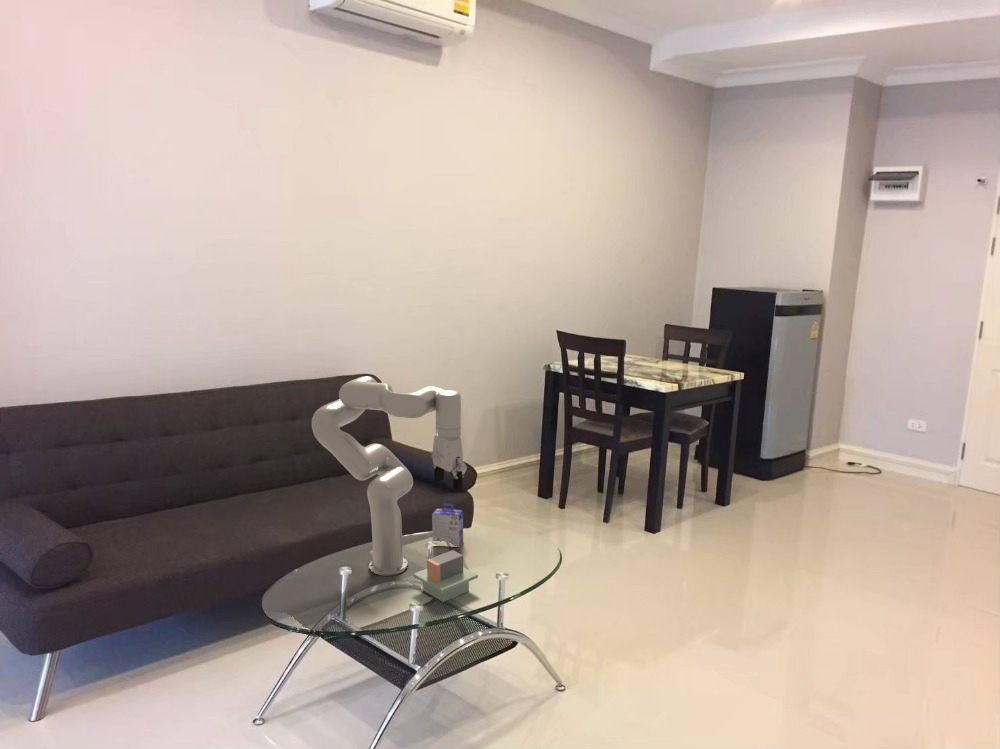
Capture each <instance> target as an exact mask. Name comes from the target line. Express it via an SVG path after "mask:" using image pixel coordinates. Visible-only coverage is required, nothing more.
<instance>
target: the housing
mask: <svg viewBox="0 0 1000 749" xmlns="http://www.w3.org/2000/svg"><path fill="white" fill-rule="evenodd" d="M463 567H464V555H463V554H461V553H459V552H457V551H455V550H453V549H452V550H449V551H447V552H444V553H442V554H439V555H437V556H434V557H432V558H431V557H430V558H428V559H426V568H427V577H429V578H431V579H432V580H434V581H436V582H440V581H442V580H445V579H447V578H450V577H452V576H454V575H457V574H459V573H462V572H463Z"/></svg>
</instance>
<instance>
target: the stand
mask: <svg viewBox="0 0 1000 749" xmlns="http://www.w3.org/2000/svg"><path fill="white" fill-rule="evenodd" d="M413 578H415V579H417V580H418V581H420V582H421V583H422V591H424V592H425V593H427V594H429V595H430V596H432V597H433V598H436V599H437V600H439V601H440V602H442V603H445V602H447V601H450V600H452V599H454V598H457V597H458V596H461V595H464V594H466V593H467V592H469V591H470V581H474V580H476V579H478V578H479V574H478V573H475V572H474V571H472V570H470V569H469V568H466V567H464V566H463V572H462V573H459V574H457V575H454V576H452V577H450V578H447V579H445V580H442V581H440V582H436V581H434V580H432V579H431V578H429V577H427V567H426V568H425V569H422V570H420V571H417V572H414V573H413Z"/></svg>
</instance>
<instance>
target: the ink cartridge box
mask: <svg viewBox="0 0 1000 749" xmlns="http://www.w3.org/2000/svg"><path fill="white" fill-rule="evenodd" d="M447 506H449V507H450V508H449V507H447ZM463 512H464V511H463V510H462V509H454V503H445V502H443V506H442V508H436V509H435V510H434V511H433V513H431V517H432V518H431V520H432V522H431V525H432V526H431V527H432V542H433V541H440V542H441V541H445V542H449V543H451V544H453V545H455V546H457V547H459V548H458V549H460V548H461V547H462V545H463V544H464V514H463Z"/></svg>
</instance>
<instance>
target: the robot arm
mask: <svg viewBox="0 0 1000 749" xmlns="http://www.w3.org/2000/svg"><path fill="white" fill-rule="evenodd" d="M338 397H339V399H336V400H334V401H331V402H328V403H326V404H325V405H322V406H321V407H319V408H318V409H317V410H316V411H315V412H314V413H313V416H312V418H311V429H312V433H313V436H314V438H315V439H316V441H318V443H320V444H321V445H322V447H324V448H325V449H326V450H327V451H329V452H330V453H331V454H332V455H333V457H335V459H336V460H337V461H338V462H339V463H340V464H341V465H342V466H343V467H344V468H345V469H346V470H347V471H348V472H349V473H350V475H352V477H353V478H354V479H356V480H358V481H366V480H368V479H370V478H372V477H374V476H375V475H378V476H376V477H375V478H374V479H372V481H370V483H369V485H368V487H367V488H366V490H367V491H366V496H367V500H368V504H369V509H370V519H371V520H370V521H371V536H372V539H371V540H372V549H371V550H369V553H368V554H370V555H371V556H372V560H371V561H370V562H369V563H368V569H369V568H370V569H371V571H373V572H374V573H377V574H378V575H377V576H382V577H383V576H385V577H387V576H388V577H389V576H395V575H399V574H401V573H403V572H405V571H406V570H407V569H408V567H407V566H409V563H408V560H407V559H406V558H404V556H403V554H404V553H403V552H404V551H403V531H402V530H403V528H402V526H403V525H402V513H401V509H400V507H399V505H398V500H400V498H402V497H403V496H405V495H406V494H407V493H409V492H410V491H411V490H412V487H413V485H414V479H413V476H412V473H411V472H410V471H409V469H408V468H407V466H405V465H404V464H403V462H401V460H399V458H398V457H396V455H395V454H394V453H393V452H392V451H391V450H390V449H389V448H388V447H386V446H385V445H383V444H380V443H371V444H368V445H367V446H363V445H361V444H360V443H359V441H357V440H356V438H355V437H353V436H352V435H351V434H349V433H348V432H345V431H343V430H341V427H344V426H345V425H348V424H350V423H352V422H354V421H356V420H357V419H358V418H360V416H361V415H362V414H363V413H364V412H365V411H366V410H374V411H383V412H384V413H385V414H388V415H390V416H392V417H397V418H406V419H417V418H418V419H419V418H421V417H424V416H425V415H428V414H429V413H432V412H434V411H435V434H434V438H433V444H432V451H430V457H431V462H432V464H433V465H432V466H433V469H434V470H433V471H434V475H433V476H434V482H439V481H442V480H444V478H445V471H446V472H449V473H451V472H452V474H453V475H452V476H453V477H452V490H453V492H457V491H459V490H460V491H461V490H462V489H463V488H464V487H463V486H464V485H463V484H464V482H463V481H464V480H463V478H464V476H465V475H466V471H467V469H468V467H467V465H466V463H465V462H464V460H463V459H464V455H463V453H464V452H463V444H462V438H461V437H462V430H461V428H462V427H461V426H462V421H461V420H462V418H461V417H462V412H461V411H462V398H461V397H462V396H461V393H459V392H458V391H456V390H450V389H449V390H447V389H443V388H439V387H437V386H431V385H429V386H425V387H422V388H420V389H417V390H416V391H414V392H411V393H406V392H403V393H402V392H394V390H393V388H392V386H391V385H390V384H389V383H385V382H378V381H377V380H376V379H375V378H373V377H372V376H365V375H364V376H359V377H357V378H355V379H352V380H350V381H348V382H347V381H346V383H344V384H343V385H342V386H341V387H340V390H339V392H338ZM457 472H458V473H457ZM406 568H407V569H406ZM405 569H406V570H405ZM404 570H405V571H404ZM371 571H370V572H371ZM374 573H373V574H374Z"/></svg>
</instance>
